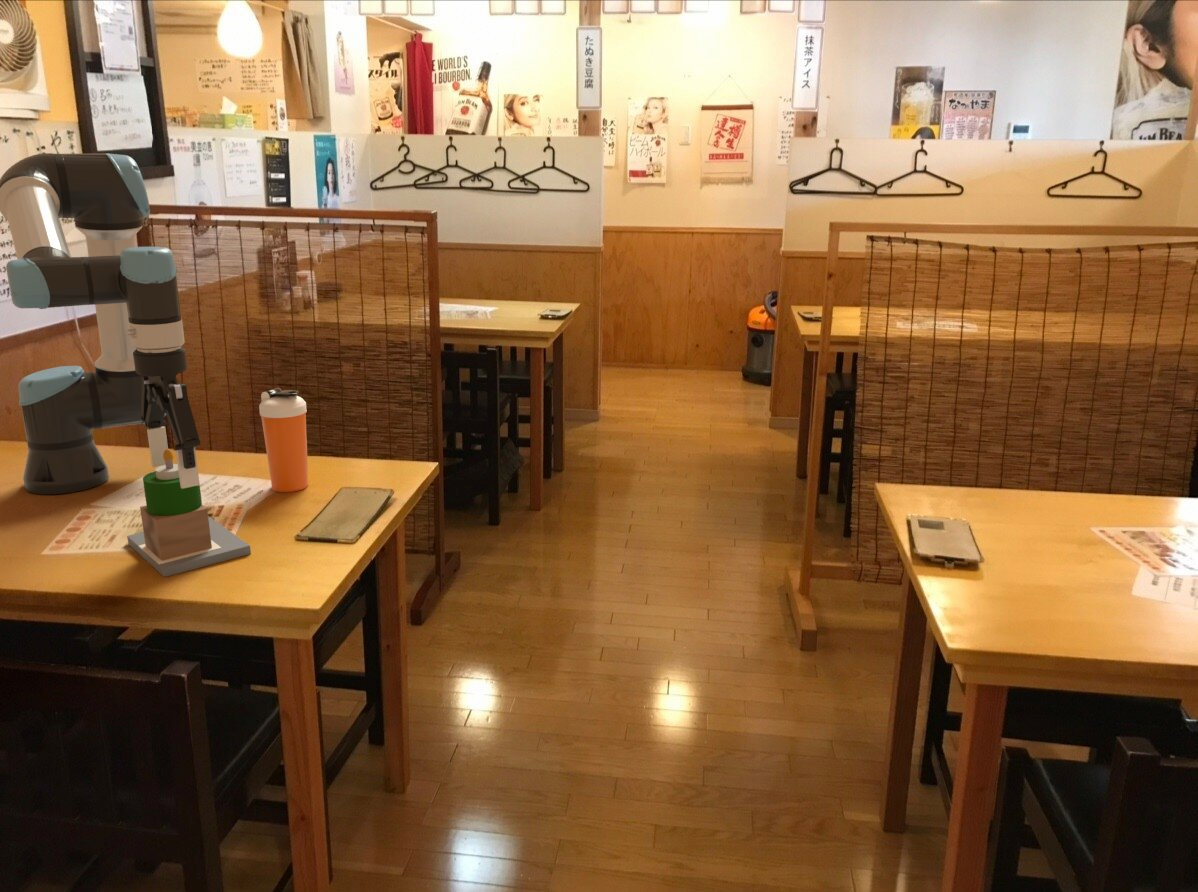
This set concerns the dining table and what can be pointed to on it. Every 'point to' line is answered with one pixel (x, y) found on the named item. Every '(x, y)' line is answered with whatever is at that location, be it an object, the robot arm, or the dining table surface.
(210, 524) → the board
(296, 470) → the shaker bottle
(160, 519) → the block
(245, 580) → the dining table surface
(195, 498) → the candle
